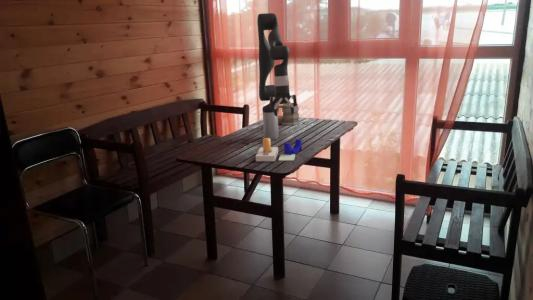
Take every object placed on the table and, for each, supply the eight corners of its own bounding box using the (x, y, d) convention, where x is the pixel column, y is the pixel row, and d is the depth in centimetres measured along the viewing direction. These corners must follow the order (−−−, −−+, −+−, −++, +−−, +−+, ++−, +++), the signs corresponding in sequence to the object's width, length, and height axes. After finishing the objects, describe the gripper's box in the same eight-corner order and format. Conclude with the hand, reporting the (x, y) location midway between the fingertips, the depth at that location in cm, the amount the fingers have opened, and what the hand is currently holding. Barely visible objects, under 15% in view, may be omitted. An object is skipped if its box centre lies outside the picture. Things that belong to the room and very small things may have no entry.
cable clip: (291, 154, 238) (290, 144, 236) (284, 153, 241) (284, 143, 239) (303, 150, 247) (303, 139, 245) (297, 149, 249) (297, 139, 248)
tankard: (300, 121, 317) (299, 100, 312) (299, 125, 305) (298, 104, 300) (272, 122, 319) (271, 101, 315) (271, 126, 307) (269, 105, 303)
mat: (280, 155, 240) (280, 154, 240) (295, 155, 239) (295, 154, 239) (278, 161, 231) (278, 160, 231) (293, 161, 229) (293, 159, 229)
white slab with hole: (260, 152, 248) (260, 147, 247) (278, 152, 246) (278, 146, 245) (255, 161, 233) (255, 155, 232) (274, 161, 231) (274, 155, 230)
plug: (264, 155, 242) (263, 138, 239) (271, 155, 241) (270, 137, 238) (263, 157, 238) (262, 140, 235) (270, 157, 237) (269, 139, 234)
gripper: (293, 83, 236) (295, 113, 239) (267, 85, 234) (269, 115, 237) (296, 83, 229) (298, 114, 232) (269, 86, 227) (272, 117, 230)
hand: (284, 115), depth 235 cm, fingers open, 8 cm apart
